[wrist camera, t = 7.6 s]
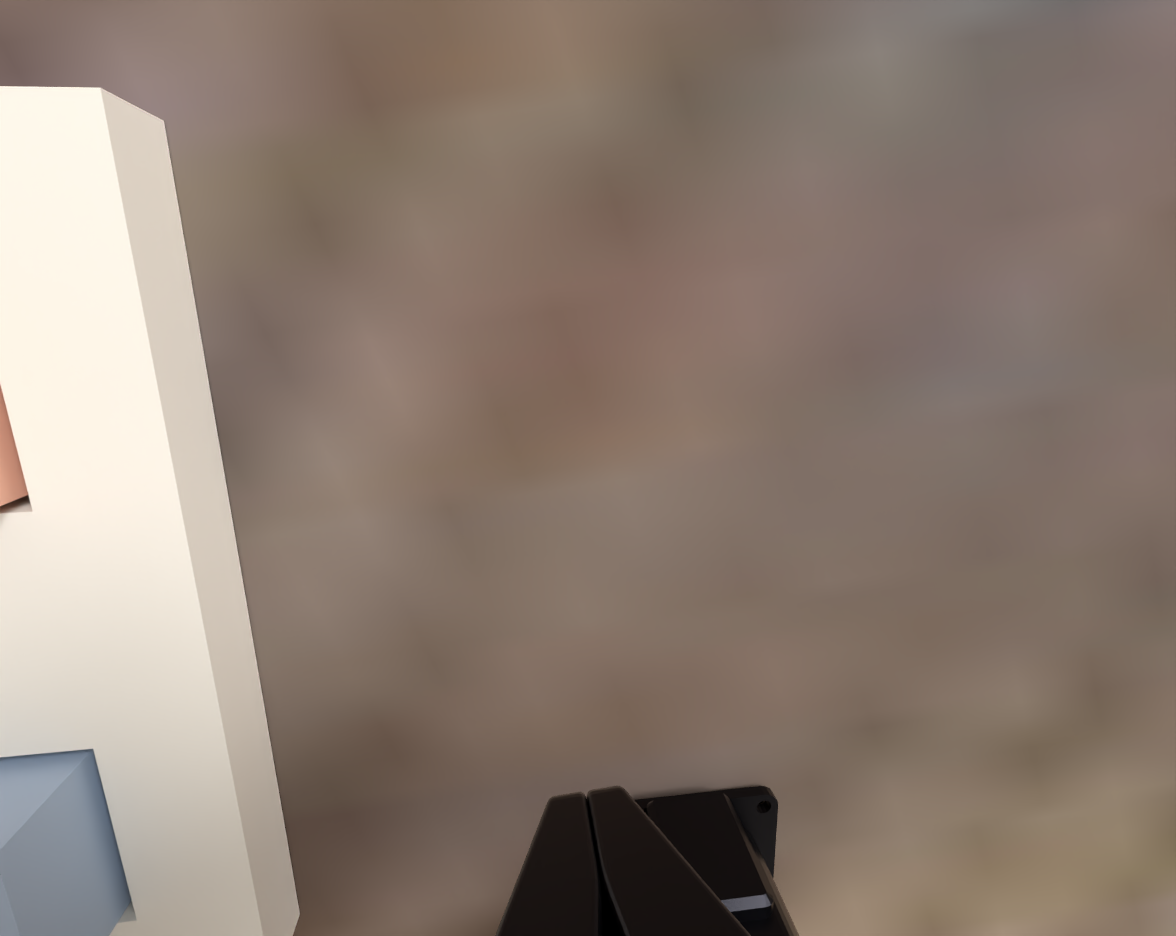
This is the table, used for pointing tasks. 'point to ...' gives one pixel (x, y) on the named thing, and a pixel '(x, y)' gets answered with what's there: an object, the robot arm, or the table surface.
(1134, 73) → the table surface
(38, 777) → the slate key
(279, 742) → the table surface
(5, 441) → the terracotta key
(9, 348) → the key panel
